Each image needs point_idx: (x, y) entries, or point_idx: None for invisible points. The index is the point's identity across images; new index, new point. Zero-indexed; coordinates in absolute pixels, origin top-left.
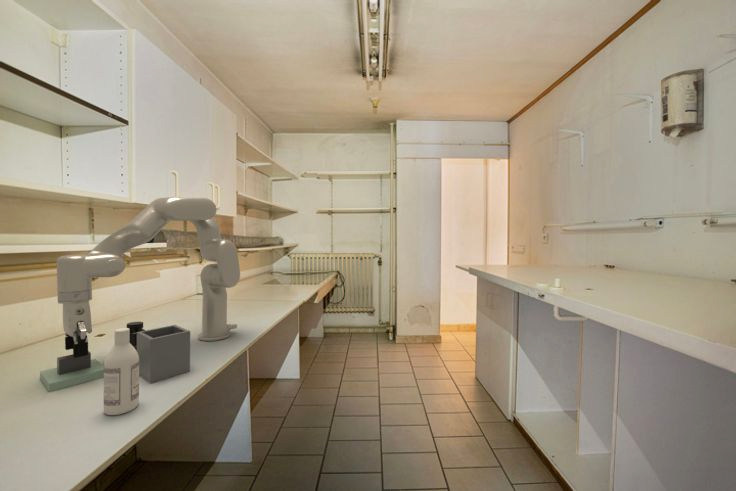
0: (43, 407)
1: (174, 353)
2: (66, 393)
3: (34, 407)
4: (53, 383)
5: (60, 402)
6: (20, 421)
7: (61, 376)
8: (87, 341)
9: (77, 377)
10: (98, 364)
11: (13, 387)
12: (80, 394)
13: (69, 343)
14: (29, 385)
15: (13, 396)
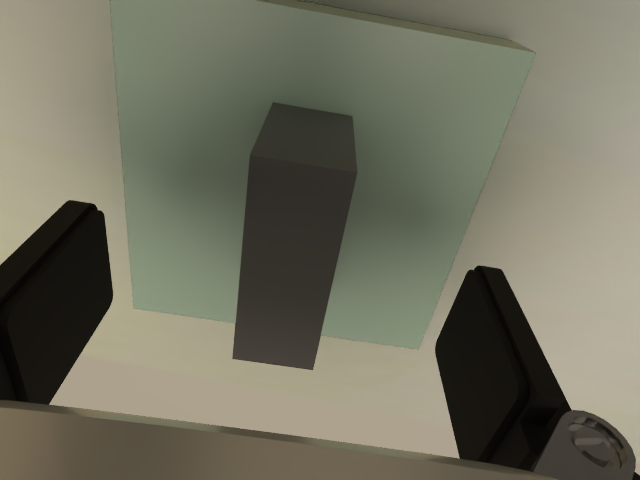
0: (569, 373)
1: None
2: (519, 285)
3: None
4: (422, 332)
5: (599, 331)
6: None
7: (355, 284)
8: (615, 431)
9: (458, 238)
10: (335, 42)
11: (183, 358)
12: (615, 259)
13: (79, 330)
14: (216, 324)
15: (311, 384)
